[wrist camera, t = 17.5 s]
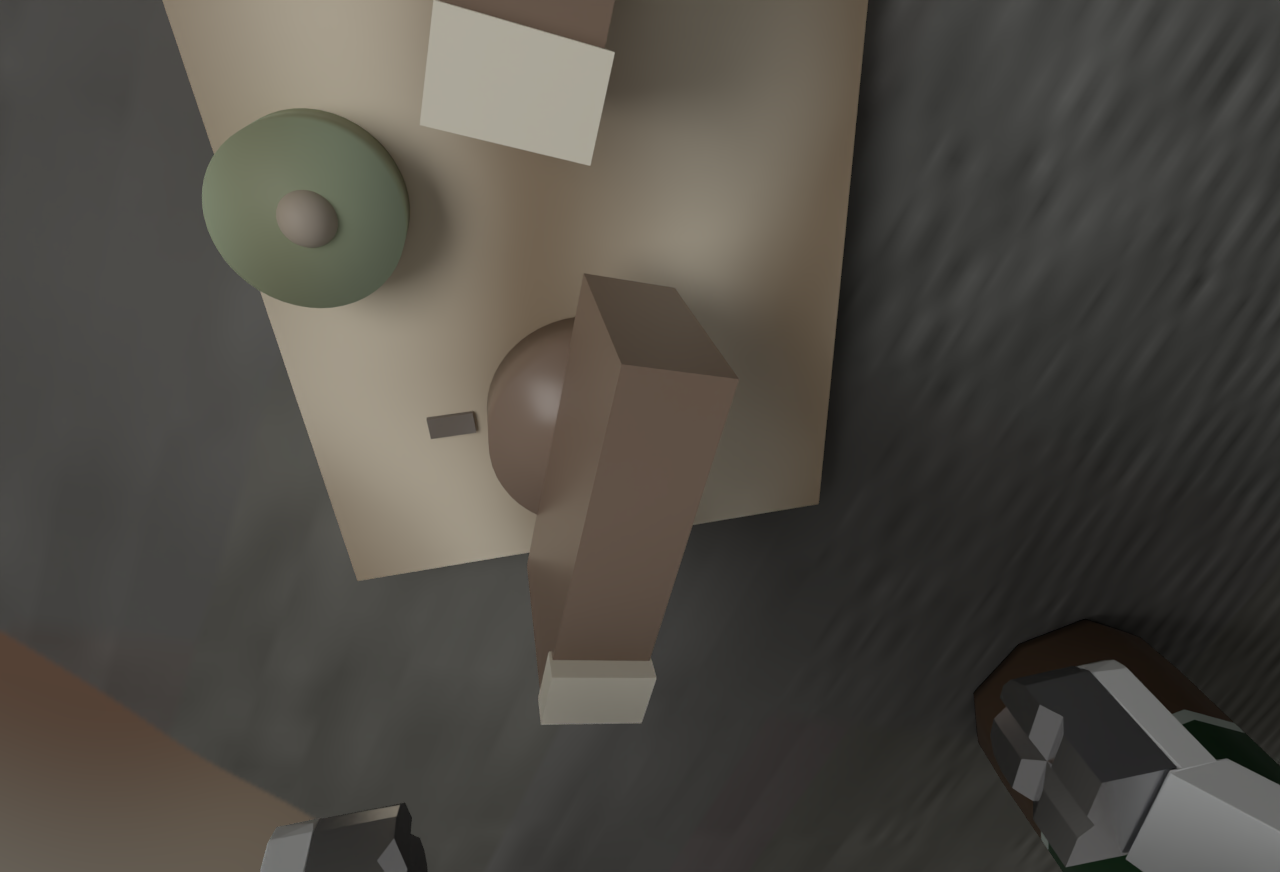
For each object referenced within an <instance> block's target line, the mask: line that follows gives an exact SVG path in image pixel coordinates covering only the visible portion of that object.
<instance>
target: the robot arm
mask: <svg viewBox="0 0 1280 872" xmlns="http://www.w3.org/2000/svg"><path fill="white" fill-rule="evenodd" d="M1000 699H1001V700H1002V702H1003V703H1004V704H1005V706H1006V707H1005V708H1004V709H1003V710H1002V711H1001V712H1000V713H999V714H998V715H997V716H996V717H995V718H994V719H993V724H992V728H991V733H990V738H991V743H992V748H993V753H994V756H995V758H996V761H997V763H998V765H999V767H1000V770H1001V771H1002V773H1003V775H1004V776H1005V778H1006V779H1007V781H1008V782H1009V784H1010V785H1011V787H1012V788H1013V789H1015V790H1016V791H1018V792H1019V793H1021V794H1023V795H1024V796H1026V797H1027V798H1029V799H1031V800H1032V801H1033V820H1034V821H1035V823H1036V824H1037V826H1038V827H1039V829H1040V830H1041V832H1042V833H1043V835H1044V836H1045V838H1046V839H1047V841H1048V842H1049V844H1050V845H1051V847H1052V848H1053V850H1054V851H1055V852H1056V854H1057V855H1058V857H1059V858H1060V860H1061V861H1062V863H1063V864H1064V866H1065V867H1069V866H1074V865H1079V864H1084V863H1089V862H1094V861H1099V860H1104V859H1109V858H1114V857H1119V856H1123V855H1127V857H1126V860H1128V861H1129V862H1130V863H1132V864H1133V865H1135V866H1136V867H1137V868H1139V869H1140V870H1141V871H1143V872H1280V785H1279V784H1277V783H1275V782H1273V781H1271V780H1269V779H1267V778H1265V777H1263V776H1261V775H1259V774H1257V773H1255V772H1253V771H1251V770H1249V769H1247V768H1245V767H1243V766H1241V765H1239V764H1237V763H1235V762H1233V761H1231V760H1229V759H1227V758H1225V759H1219V760H1216V759H1215V758H1214V757H1213V756H1212V755H1211V754H1210V753H1209V752H1208V751H1207V750H1206V749H1205V748H1204V747H1203V746H1202V745H1201V744H1200V743H1199V742H1198V741H1197V740H1196V739H1195V738H1194V736H1193V735H1192V734H1191V733H1190V732H1189V731H1188V730H1187V729H1186V728H1185V727H1184V726H1183V725H1182V724H1181V723H1180V722H1179V721H1178V720H1177V719H1176V718H1175V717H1174V716H1173V715H1172V714H1171V713H1170V712H1169V711H1168V710H1167V709H1166V708H1165V707H1164V706H1163V705H1162V703H1161V702H1160V701H1159V700H1158V699H1157V698H1156V697H1155V696H1154V695H1153V694H1152V693H1151V692H1150V691H1149V690H1148V689H1147V688H1146V687H1145V686H1144V685H1143V684H1142V683H1141V682H1140V681H1139V680H1138V679H1137V678H1136V677H1135V676H1134V675H1133V674H1132V673H1131V672H1130V671H1129V669H1128V668H1126V667H1125V666H1124V665H1123V664H1121V663H1119V662H1117V661H1115V660H1102V661H1098V662H1093V663H1089V664H1084V665H1080V666H1070V667H1065V668H1061V669H1056V670H1052V671H1047V672H1043V673H1038V674H1034V675H1029V676H1025V677H1020V678H1015V679H1011V680H1010V681H1008V682H1007V683H1006V684H1004V685H1003V688H1002V692H1001V695H1000ZM411 822H412V817H411V815H410V812H409V810H408V808H407V806H406V804H405V803H400V804H395V805H390V806H385V807H380V808H374V809H369V810H364V811H359V812H353V813H348V814H343V815H338V816H332V817H327V818H319V819H314V820H309V821H305V822H300V823H294V824H290V825H285V826H280V827H277V828H276V830H275V831H274V833H273V835H272V837H271V838H270V840H269V842H268V844H267V847H266V851H265V855H264V859H263V863H262V867H261V870H260V872H428V871H427V862H426V857H425V852H424V848H423V845H422V843H421V840H420V838H419V837H416V836H414V835H412V834H411Z"/></svg>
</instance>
